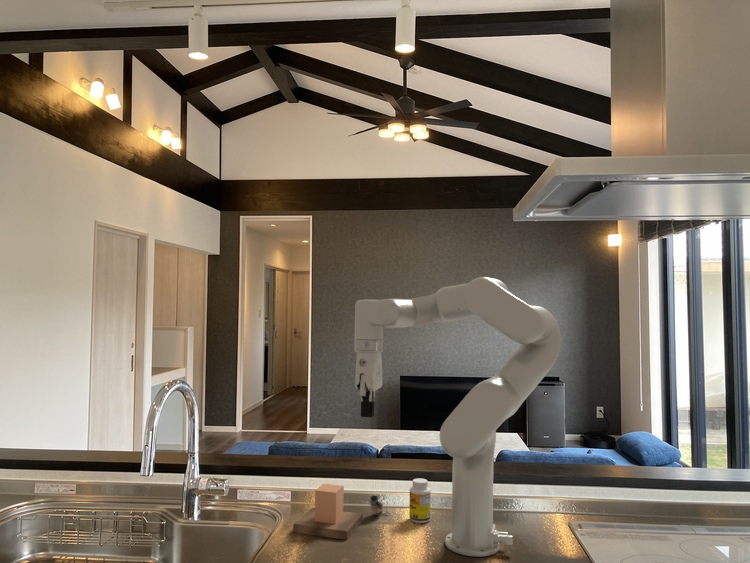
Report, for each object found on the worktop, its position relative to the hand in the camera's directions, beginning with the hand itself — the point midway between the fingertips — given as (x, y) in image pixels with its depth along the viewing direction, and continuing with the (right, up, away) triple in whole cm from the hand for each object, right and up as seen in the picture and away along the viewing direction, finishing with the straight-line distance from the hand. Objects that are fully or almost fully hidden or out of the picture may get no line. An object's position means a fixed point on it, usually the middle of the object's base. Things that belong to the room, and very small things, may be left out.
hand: (367, 416), depth 145 cm
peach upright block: (-10, -25, -5) cm, 27 cm away
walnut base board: (-10, -27, -5) cm, 29 cm away
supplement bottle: (+14, -28, +1) cm, 31 cm away
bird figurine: (+2, -28, +3) cm, 28 cm away
